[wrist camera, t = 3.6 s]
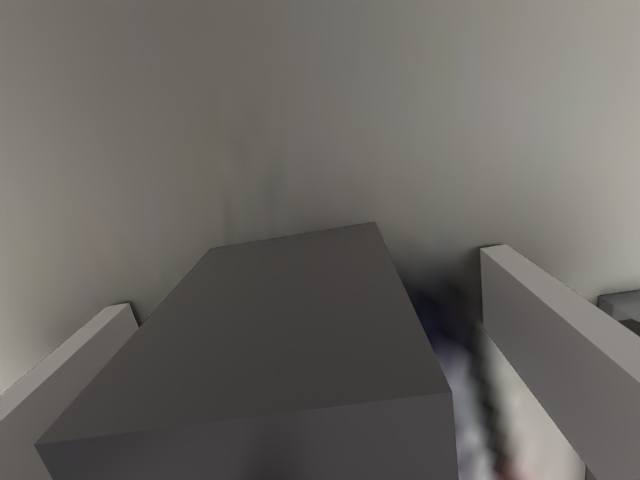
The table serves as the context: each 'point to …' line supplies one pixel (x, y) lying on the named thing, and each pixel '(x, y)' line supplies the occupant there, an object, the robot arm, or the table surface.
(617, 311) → the walled box
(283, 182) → the table surface
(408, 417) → the connector
